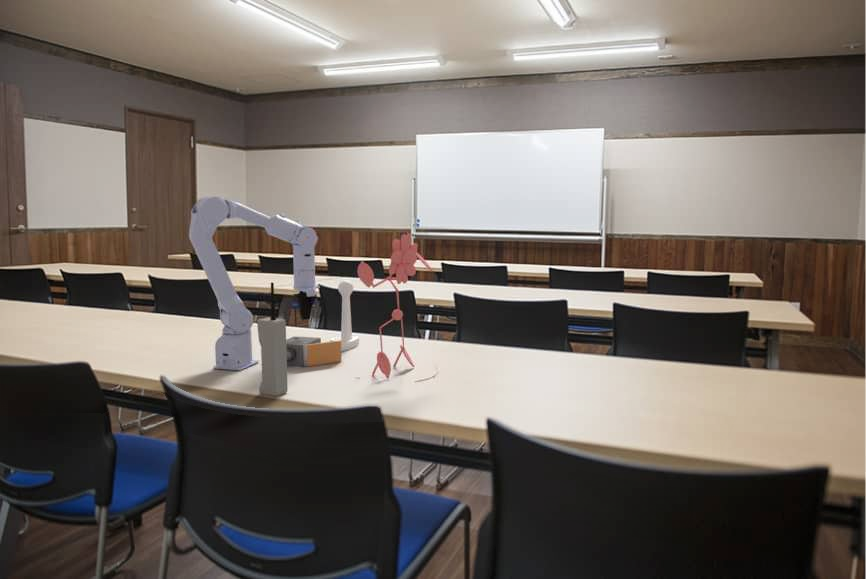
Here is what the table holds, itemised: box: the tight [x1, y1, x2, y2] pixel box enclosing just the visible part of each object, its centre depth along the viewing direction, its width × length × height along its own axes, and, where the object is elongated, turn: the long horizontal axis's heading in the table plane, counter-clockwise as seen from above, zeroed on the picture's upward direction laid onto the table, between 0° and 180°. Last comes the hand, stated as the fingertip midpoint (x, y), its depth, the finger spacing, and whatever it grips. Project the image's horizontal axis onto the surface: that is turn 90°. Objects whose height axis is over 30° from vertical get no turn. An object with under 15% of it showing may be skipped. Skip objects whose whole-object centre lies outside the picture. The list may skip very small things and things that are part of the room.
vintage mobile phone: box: [256, 282, 289, 397], centre depth 142 cm, size 4×5×25 cm
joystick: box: [329, 279, 360, 352], centre depth 189 cm, size 11×8×20 cm
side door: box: [303, 341, 342, 368], centre depth 170 cm, size 10×1×6 cm, turn 124°
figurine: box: [355, 233, 439, 383], centre depth 158 cm, size 15×26×35 cm, turn 148°
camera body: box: [286, 335, 322, 367], centre depth 173 cm, size 12×8×6 cm
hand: (305, 319), depth 177 cm, fingers closed
